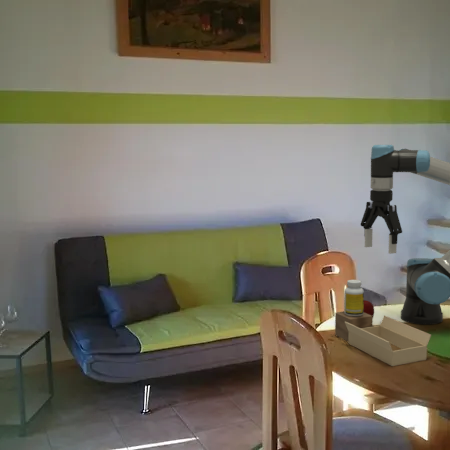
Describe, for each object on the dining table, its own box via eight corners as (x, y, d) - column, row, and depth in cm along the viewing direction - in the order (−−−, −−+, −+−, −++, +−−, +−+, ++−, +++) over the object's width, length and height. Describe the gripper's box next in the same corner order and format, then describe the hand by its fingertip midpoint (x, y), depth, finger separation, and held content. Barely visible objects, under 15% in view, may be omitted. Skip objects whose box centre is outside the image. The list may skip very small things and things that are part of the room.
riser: (356, 331, 225) (357, 309, 224) (372, 338, 217) (372, 316, 216) (335, 334, 222) (335, 312, 221) (350, 342, 214) (350, 319, 213)
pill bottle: (363, 317, 215) (364, 283, 213) (344, 316, 216) (344, 283, 214) (363, 312, 221) (363, 279, 219) (344, 311, 222) (344, 278, 221)
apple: (364, 321, 237) (365, 295, 235) (379, 328, 228) (380, 301, 227) (342, 324, 234) (342, 298, 232) (356, 332, 225) (357, 304, 223)
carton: (384, 337, 219) (384, 315, 218) (430, 358, 198) (431, 334, 197) (344, 344, 212) (344, 321, 211) (387, 366, 191) (388, 341, 190)
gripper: (351, 187, 230) (350, 245, 234) (395, 193, 208) (394, 257, 211) (368, 186, 233) (367, 243, 237) (414, 192, 211) (412, 255, 214)
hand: (380, 250), depth 224 cm, fingers open, 13 cm apart
